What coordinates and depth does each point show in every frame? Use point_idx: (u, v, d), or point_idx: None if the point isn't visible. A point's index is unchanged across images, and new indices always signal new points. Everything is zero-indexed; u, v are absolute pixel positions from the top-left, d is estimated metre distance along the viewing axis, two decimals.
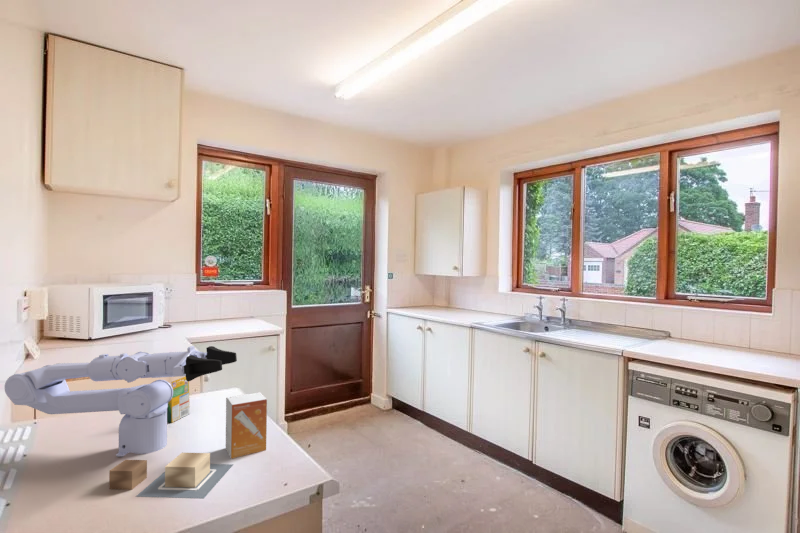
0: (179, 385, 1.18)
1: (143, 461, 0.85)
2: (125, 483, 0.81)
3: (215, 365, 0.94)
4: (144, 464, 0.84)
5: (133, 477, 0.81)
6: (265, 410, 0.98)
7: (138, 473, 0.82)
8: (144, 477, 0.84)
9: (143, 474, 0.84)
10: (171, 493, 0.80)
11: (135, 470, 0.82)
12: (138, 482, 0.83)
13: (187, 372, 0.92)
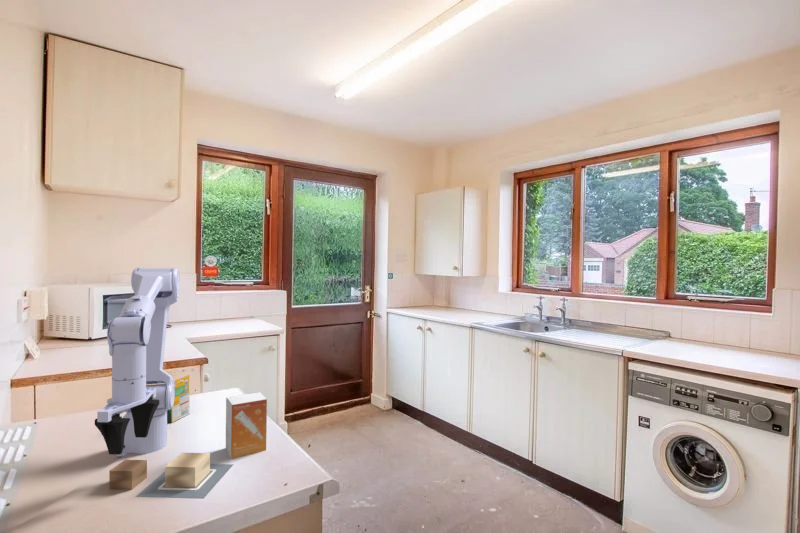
0: (179, 385, 1.18)
1: (143, 461, 0.85)
2: (125, 483, 0.81)
3: None
4: (144, 464, 0.84)
5: (133, 477, 0.81)
6: (265, 410, 0.98)
7: (138, 473, 0.82)
8: (144, 477, 0.84)
9: (143, 474, 0.84)
10: (171, 493, 0.80)
11: (135, 470, 0.82)
12: (138, 482, 0.83)
13: None
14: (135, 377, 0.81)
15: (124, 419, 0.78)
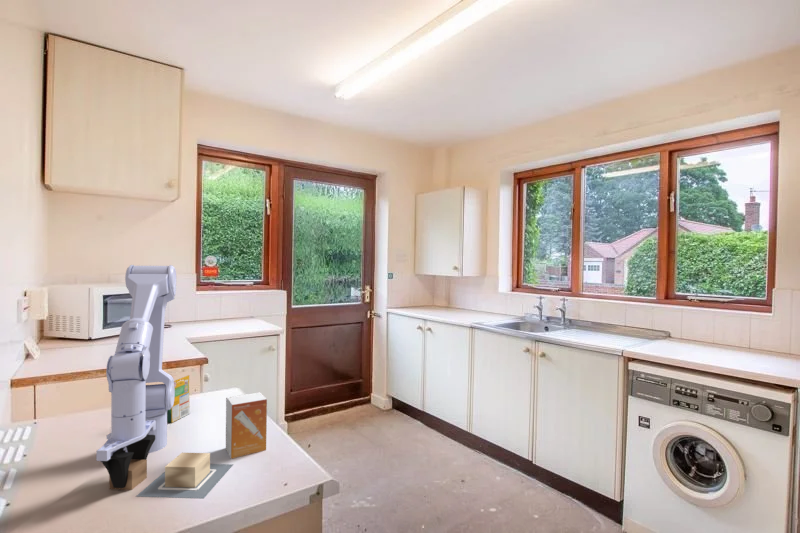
0: (179, 385, 1.18)
1: (143, 460, 0.85)
2: None
3: None
4: (144, 464, 0.84)
5: (133, 477, 0.81)
6: (265, 410, 0.98)
7: (137, 473, 0.82)
8: (144, 477, 0.84)
9: (143, 474, 0.84)
10: (171, 493, 0.80)
11: (135, 470, 0.82)
12: (138, 482, 0.83)
13: None
14: (134, 413, 0.81)
15: (128, 453, 0.79)
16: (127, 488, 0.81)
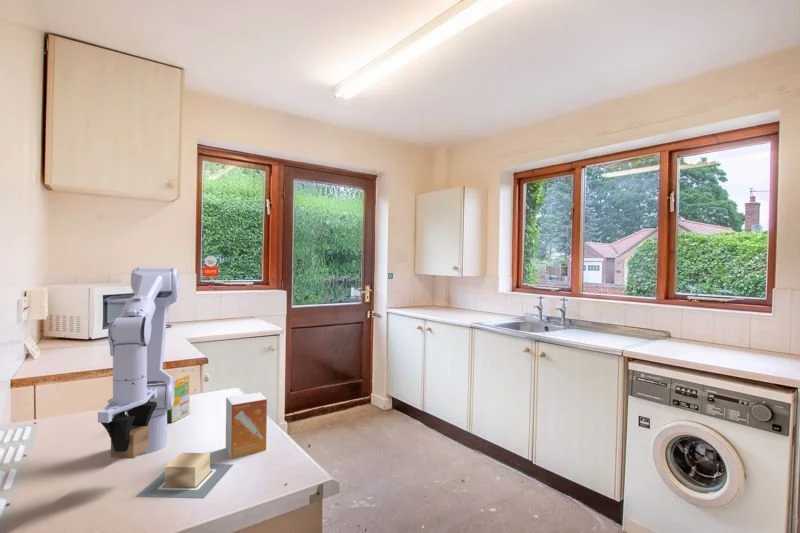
0: (179, 385, 1.18)
1: (144, 427, 0.85)
2: None
3: None
4: (146, 430, 0.84)
5: (135, 442, 0.81)
6: (265, 410, 0.98)
7: (139, 438, 0.82)
8: (145, 443, 0.84)
9: (145, 440, 0.84)
10: (171, 493, 0.80)
11: (137, 435, 0.82)
12: (139, 447, 0.83)
13: None
14: (136, 377, 0.81)
15: (129, 417, 0.79)
16: (128, 453, 0.81)
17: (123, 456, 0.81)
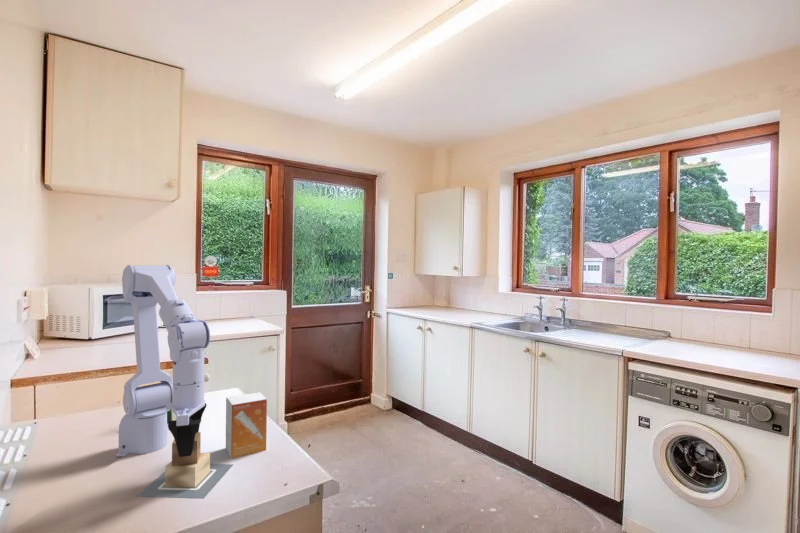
0: None
1: (197, 433, 0.87)
2: None
3: None
4: (199, 436, 0.87)
5: (197, 447, 0.84)
6: (265, 410, 0.98)
7: (198, 444, 0.85)
8: (199, 448, 0.87)
9: (199, 446, 0.86)
10: (171, 493, 0.80)
11: (198, 441, 0.84)
12: (198, 452, 0.85)
13: None
14: (201, 380, 0.84)
15: (197, 420, 0.81)
16: (192, 459, 0.83)
17: (185, 463, 0.83)
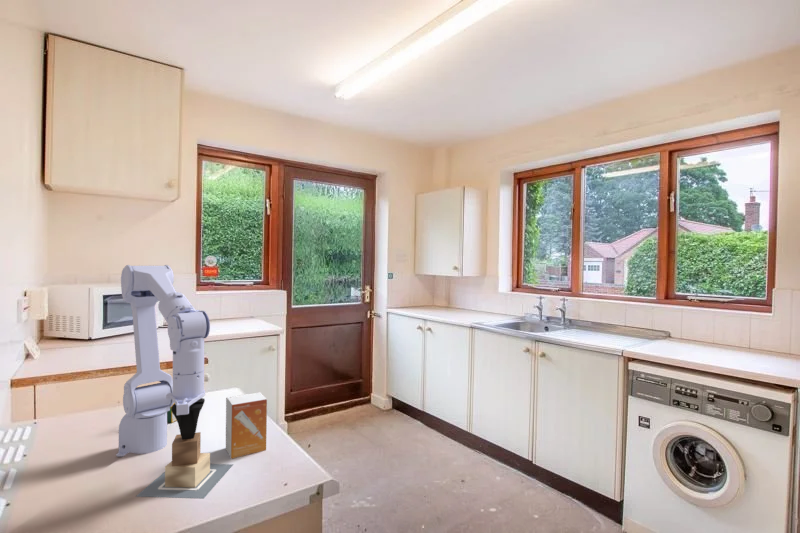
0: None
1: (197, 433, 0.87)
2: (189, 453, 0.83)
3: None
4: (199, 436, 0.87)
5: (197, 447, 0.84)
6: (265, 410, 0.98)
7: (198, 444, 0.85)
8: (199, 448, 0.87)
9: (199, 446, 0.86)
10: (171, 493, 0.80)
11: (198, 441, 0.84)
12: (198, 452, 0.85)
13: None
14: (201, 370, 0.84)
15: (200, 405, 0.84)
16: (192, 459, 0.83)
17: (185, 463, 0.83)
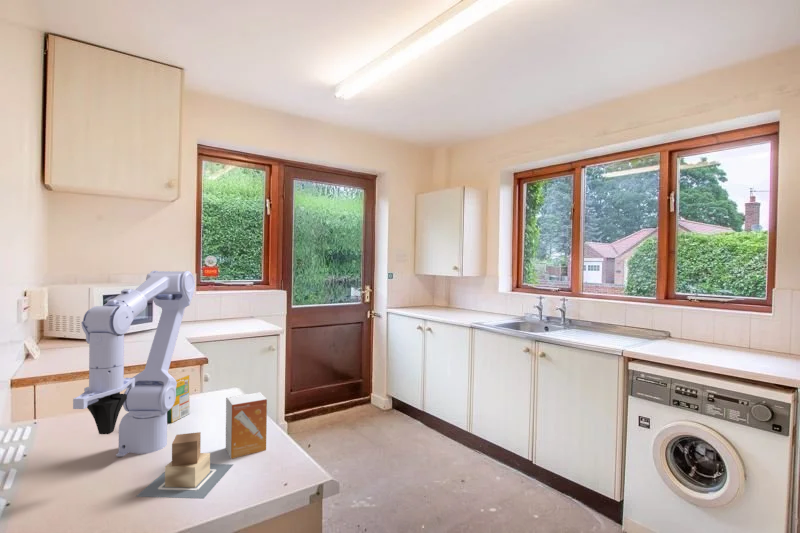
0: (179, 385, 1.18)
1: (197, 433, 0.87)
2: (189, 453, 0.83)
3: None
4: (199, 436, 0.87)
5: (197, 447, 0.84)
6: (265, 410, 0.98)
7: (198, 444, 0.85)
8: (199, 448, 0.87)
9: (199, 446, 0.86)
10: (171, 493, 0.80)
11: (198, 441, 0.84)
12: (198, 452, 0.85)
13: None
14: (107, 366, 0.82)
15: (113, 400, 0.83)
16: (192, 459, 0.83)
17: (185, 463, 0.83)
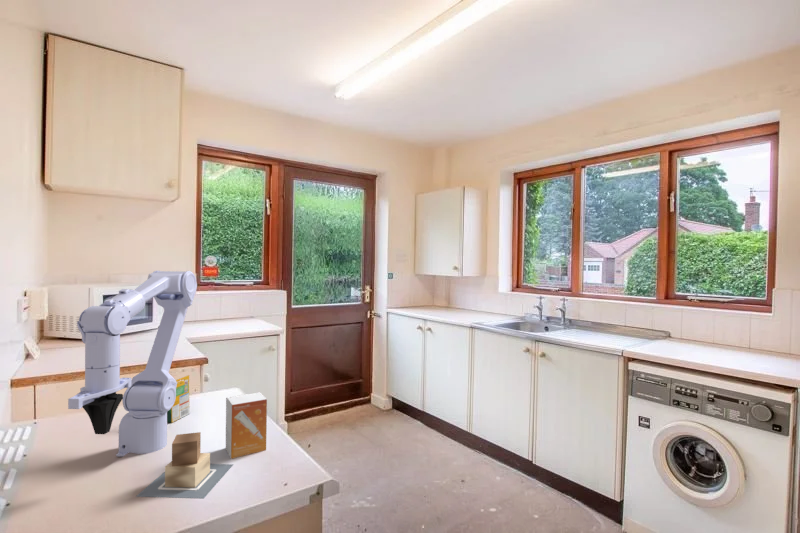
0: (179, 385, 1.18)
1: (197, 433, 0.87)
2: (189, 453, 0.83)
3: None
4: (199, 436, 0.87)
5: (197, 447, 0.84)
6: (265, 410, 0.98)
7: (198, 444, 0.85)
8: (199, 448, 0.87)
9: (199, 446, 0.86)
10: (171, 493, 0.80)
11: (198, 441, 0.84)
12: (198, 452, 0.85)
13: None
14: (101, 366, 0.81)
15: (109, 400, 0.83)
16: (192, 459, 0.83)
17: (185, 463, 0.83)
